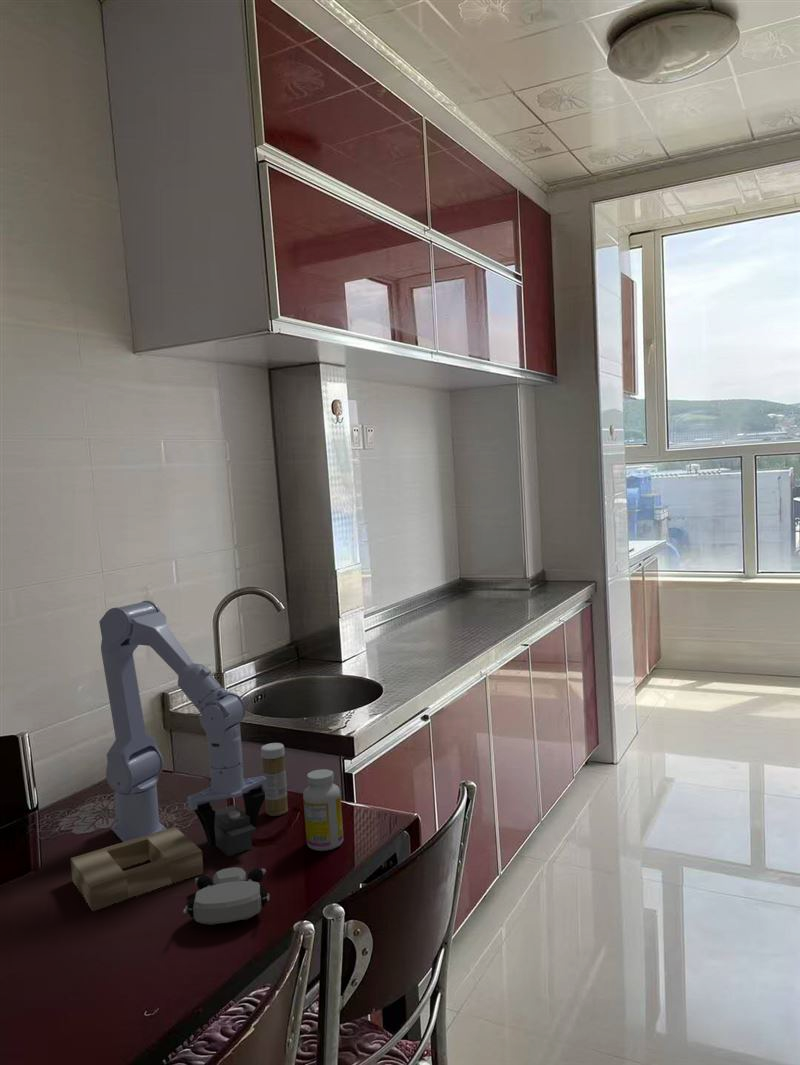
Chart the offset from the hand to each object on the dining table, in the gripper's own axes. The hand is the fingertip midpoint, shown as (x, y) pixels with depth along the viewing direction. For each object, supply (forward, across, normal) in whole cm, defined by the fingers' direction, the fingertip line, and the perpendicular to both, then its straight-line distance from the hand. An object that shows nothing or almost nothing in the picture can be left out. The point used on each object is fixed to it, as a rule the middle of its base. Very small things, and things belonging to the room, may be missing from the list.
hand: (231, 837), depth 142 cm
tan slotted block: (+2, -17, 0) cm, 17 cm away
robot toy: (+2, -9, -20) cm, 22 cm away
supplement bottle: (+2, +13, -11) cm, 17 cm away
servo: (+2, 0, 0) cm, 2 cm away
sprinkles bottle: (+2, +13, +8) cm, 15 cm away
